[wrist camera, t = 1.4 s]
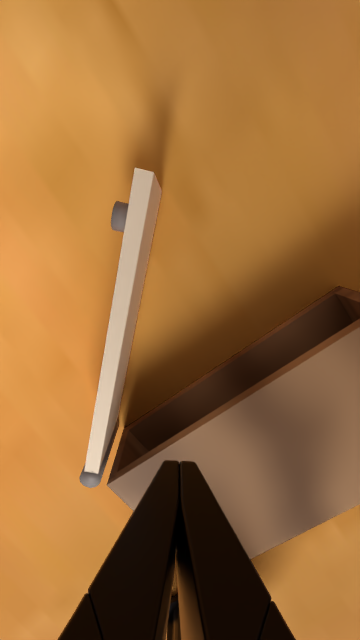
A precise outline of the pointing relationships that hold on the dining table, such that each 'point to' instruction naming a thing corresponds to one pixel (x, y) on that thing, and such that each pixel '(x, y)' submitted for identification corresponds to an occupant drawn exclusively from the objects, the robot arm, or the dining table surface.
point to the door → (122, 315)
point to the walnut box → (265, 428)
